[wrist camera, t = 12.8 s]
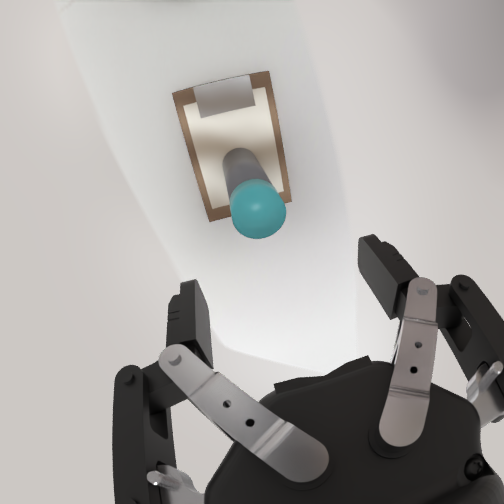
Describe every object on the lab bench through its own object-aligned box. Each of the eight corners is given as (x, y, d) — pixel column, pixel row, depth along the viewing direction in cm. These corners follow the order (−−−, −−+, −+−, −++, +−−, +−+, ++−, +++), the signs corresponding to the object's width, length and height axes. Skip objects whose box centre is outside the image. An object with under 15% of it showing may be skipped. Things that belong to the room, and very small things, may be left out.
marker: (218, 152, 27) (226, 197, 18) (253, 143, 27) (281, 184, 18) (226, 184, 29) (238, 244, 20) (260, 176, 29) (289, 231, 20)
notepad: (172, 92, 24) (170, 93, 22) (267, 71, 24) (271, 70, 22) (209, 218, 32) (209, 226, 30) (289, 198, 32) (294, 205, 30)
